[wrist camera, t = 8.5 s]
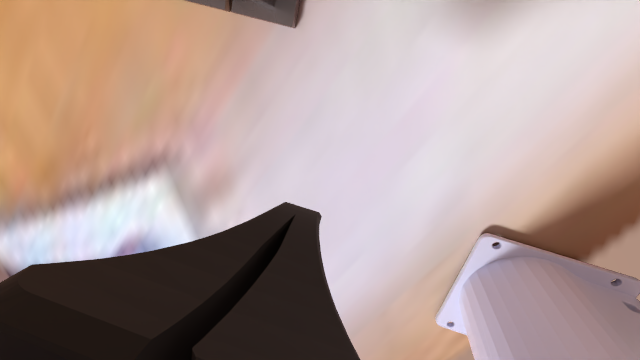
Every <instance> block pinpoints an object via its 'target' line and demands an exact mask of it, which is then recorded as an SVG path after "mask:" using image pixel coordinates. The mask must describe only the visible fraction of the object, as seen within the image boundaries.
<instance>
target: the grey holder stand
mask: <svg viewBox="0 0 640 360" xmlns="http://www.w3.org/2000/svg"><path fill="white" fill-rule="evenodd" d="M299 4H300V0H232V9H231V12H233V13H236V14H240V15H244V16H248V17H252V18H256V19H260V20H264V21H268V22H272V23H276V24H280V25H284V26H288V27H292V28H295V26H296V21H297V15H298V9H299Z"/></svg>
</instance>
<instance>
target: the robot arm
mask: <svg viewBox="0 0 640 360" xmlns="http://www.w3.org/2000/svg"><path fill="white" fill-rule="evenodd" d="M320 220H321V215H320V213H319V212H316V211H313V210H309V209H306V208H303V207H300V206H297V205H294V204H290V203H287V202H285V203H283V204H281V205H279V206H277V207H275V208H273V209H271V210H269V211H267V212H265V213H263V214H261V215H259V216H257V217H255V218H253V219H251V220H249V221H247V222H244V223H242V224H240V225H237V226H235V227H232V228H230V229H228V230H225V231H223V232H220V233H217V234H214V235H211V236H208V237H205V238H202V239H198V240H195V241H192V242H188V243H184V244H180V245H176V246H171V247H167V248H162V249H158V250H154V251H149V252H143V253H137V254H131V255H125V256H118V257H111V258H103V259H95V260H84V261H73V262H61V263H50V264H35V265H31V266H29V267H27V268H25V269H23V270H22V271H20V272H18V273H16V274H15V275H13V276H11V277H9V278H8V279H6V280H4V281H2V282H1V283H0V360H360V358H359V356H358V354H357V352H356V350H355V349H354V347H353V345H352V343H351V341H350V339H349V337H348V335H347V332H346V330H345V328H344V326H343V323H342V321H341V319H340V317H339V314H338V312H337V310H336V307H335V305H334V302H333V299H332V296H331V293H330V290H329V287H328V283H327V280H326V276H325V272H324V268H323V263H322V258H321V251H320V242H319V224H320ZM495 242H499V244H498V245H496V246H492V244H493V243H495ZM614 279H616V280H615V281H613V282H611V281H612V280H614ZM639 294H640V281H639V280H638V279H636V278H634V277H630V276H627V275H624V274H621V273H617V272H614V271H611V270H607V269H604V268H601V267H598V266H595V265H591V264H588V263H585V262H582V261H578V260H575V259H572V258H568V257H565V256H562V255H559V254H555V253H552V252H549V251H545V250H542V249H539V248H536V247H532V246H529V245H526V244H523V243H519V242H516V241H513V240H509V239H506V238H503V237H500V236H496V235H493V234H489V233H486V234H482V235H481V236H480V237H479V238H478V240H477V242H476V244H475V246H474V247H473V249H472V251H471V253H470V255H469V257H468V258H467V260H466V262H465V264H464V266H463V267H462V269H461V271H460V273H459V275H458V277H457V278H456V280H455V282H454V284H453V286H452V288H451V289H450V291H449V293H448V295H447V297H446V299H445V300H444V302H443V304H442V306H441V308H440V309H439V311H438V313H437V315H436V322H437V324H438V325H439V326H441V327H444V328H447V329H450V330H453V331H456V332H459V333H462V334H465V335H467V336H468V339H469V343H470V346H471V349H472V353H473V356H474V359H475V360H640V301H639V300H637V299H636V297H637V296H638V295H639ZM448 322H452V323H448Z"/></svg>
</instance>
